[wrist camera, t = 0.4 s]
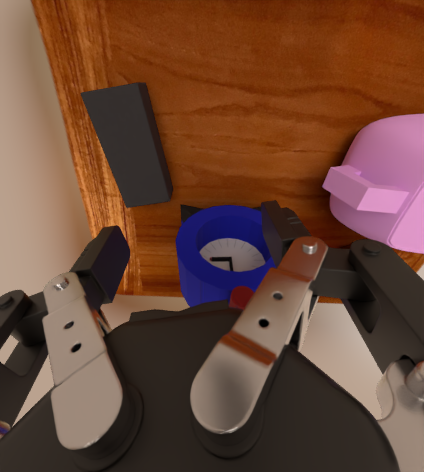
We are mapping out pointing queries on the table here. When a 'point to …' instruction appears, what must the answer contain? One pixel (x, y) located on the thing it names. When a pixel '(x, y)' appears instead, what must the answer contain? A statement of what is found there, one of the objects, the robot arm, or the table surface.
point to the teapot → (383, 183)
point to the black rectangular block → (130, 142)
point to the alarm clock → (221, 254)
